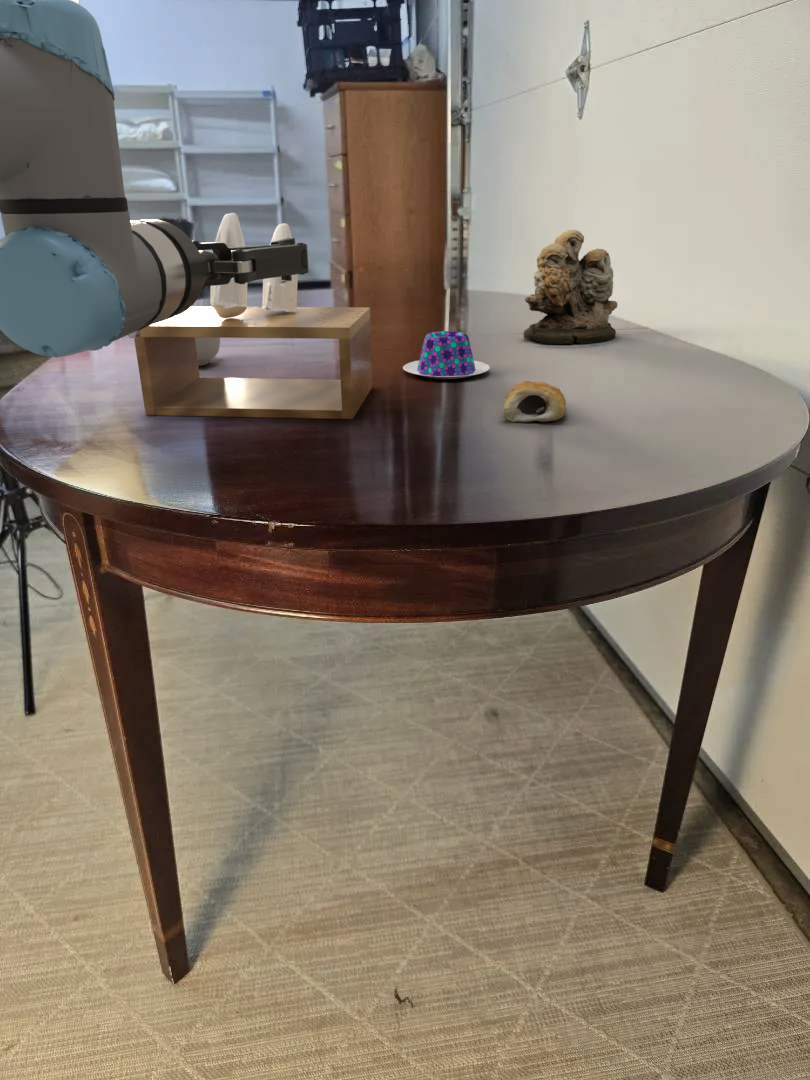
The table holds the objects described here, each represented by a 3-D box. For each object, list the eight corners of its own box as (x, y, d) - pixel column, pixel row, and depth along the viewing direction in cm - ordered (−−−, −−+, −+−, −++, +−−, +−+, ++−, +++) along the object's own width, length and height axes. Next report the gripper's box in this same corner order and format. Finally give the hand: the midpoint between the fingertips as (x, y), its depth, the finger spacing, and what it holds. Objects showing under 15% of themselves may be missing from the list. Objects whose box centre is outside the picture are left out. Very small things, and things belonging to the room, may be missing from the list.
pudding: (452, 360, 115) (452, 324, 112) (507, 374, 106) (509, 335, 104) (386, 371, 108) (385, 333, 106) (439, 386, 99) (439, 345, 97)
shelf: (145, 415, 88) (131, 325, 84) (192, 384, 102) (182, 306, 98) (352, 419, 86) (349, 327, 82) (372, 387, 99) (370, 307, 95)
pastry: (509, 401, 92) (511, 369, 91) (567, 404, 91) (569, 372, 89) (501, 422, 84) (503, 387, 82) (564, 426, 83) (567, 390, 81)
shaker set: (218, 323, 85) (206, 214, 80) (199, 319, 87) (187, 213, 83) (308, 312, 92) (302, 211, 87) (289, 308, 95) (282, 210, 90)
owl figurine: (548, 349, 122) (556, 233, 115) (503, 338, 131) (508, 230, 124) (632, 338, 130) (644, 229, 123) (584, 328, 139) (592, 226, 132)
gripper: (-2, 322, 62) (114, 291, 81) (303, 324, 60) (349, 291, 79) (-24, 221, 59) (102, 213, 78) (297, 219, 57) (345, 211, 76)
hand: (226, 252), depth 78 cm, fingers open, 13 cm apart
